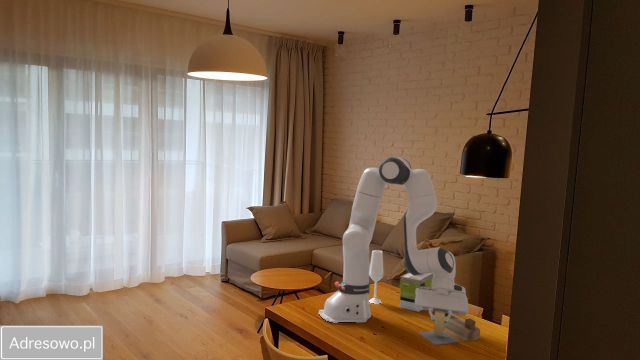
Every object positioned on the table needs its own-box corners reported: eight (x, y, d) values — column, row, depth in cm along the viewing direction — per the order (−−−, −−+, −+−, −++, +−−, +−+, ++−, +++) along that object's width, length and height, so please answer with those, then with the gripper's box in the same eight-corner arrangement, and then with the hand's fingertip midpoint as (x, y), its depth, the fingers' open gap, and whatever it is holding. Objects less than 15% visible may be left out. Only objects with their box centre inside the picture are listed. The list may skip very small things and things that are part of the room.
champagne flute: (364, 300, 217) (367, 250, 216) (376, 298, 220) (378, 249, 219) (373, 305, 211) (375, 253, 210) (385, 303, 215) (387, 252, 213)
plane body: (465, 341, 174) (466, 323, 173) (436, 323, 191) (437, 307, 190) (479, 339, 176) (480, 321, 176) (450, 322, 193) (450, 305, 193)
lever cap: (443, 335, 174) (444, 313, 173) (433, 334, 175) (434, 312, 174) (444, 332, 177) (445, 310, 176) (434, 330, 178) (435, 309, 178)
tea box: (412, 299, 221) (414, 269, 221) (432, 304, 216) (434, 273, 215) (398, 307, 209) (400, 275, 208) (419, 312, 203) (421, 279, 203)
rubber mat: (435, 345, 169) (435, 344, 169) (418, 333, 179) (418, 332, 179) (459, 341, 173) (459, 340, 173) (441, 330, 183) (441, 329, 183)
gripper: (415, 281, 185) (411, 313, 176) (469, 288, 178) (467, 321, 169) (416, 289, 189) (412, 321, 180) (468, 296, 183) (467, 329, 174)
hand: (439, 321), depth 175 cm, fingers closed on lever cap, 3 cm apart
